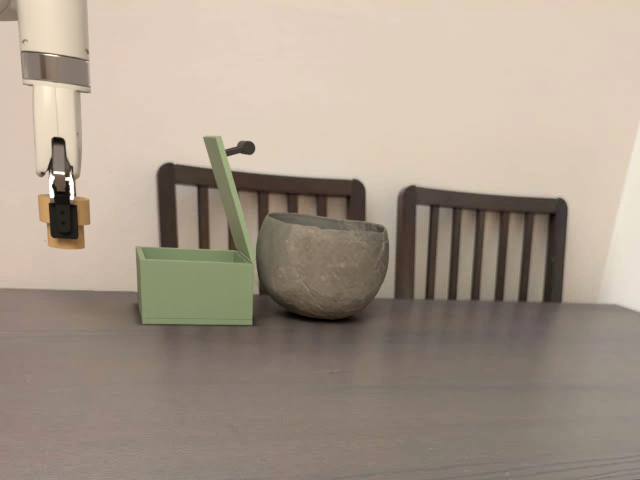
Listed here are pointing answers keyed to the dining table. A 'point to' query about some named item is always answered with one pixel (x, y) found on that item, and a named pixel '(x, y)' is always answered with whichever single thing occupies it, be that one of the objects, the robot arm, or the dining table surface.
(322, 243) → the bowl
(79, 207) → the wooden stepped cylinder
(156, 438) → the dining table surface
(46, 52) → the robot arm
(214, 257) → the green open box
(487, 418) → the dining table surface
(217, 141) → the lid
